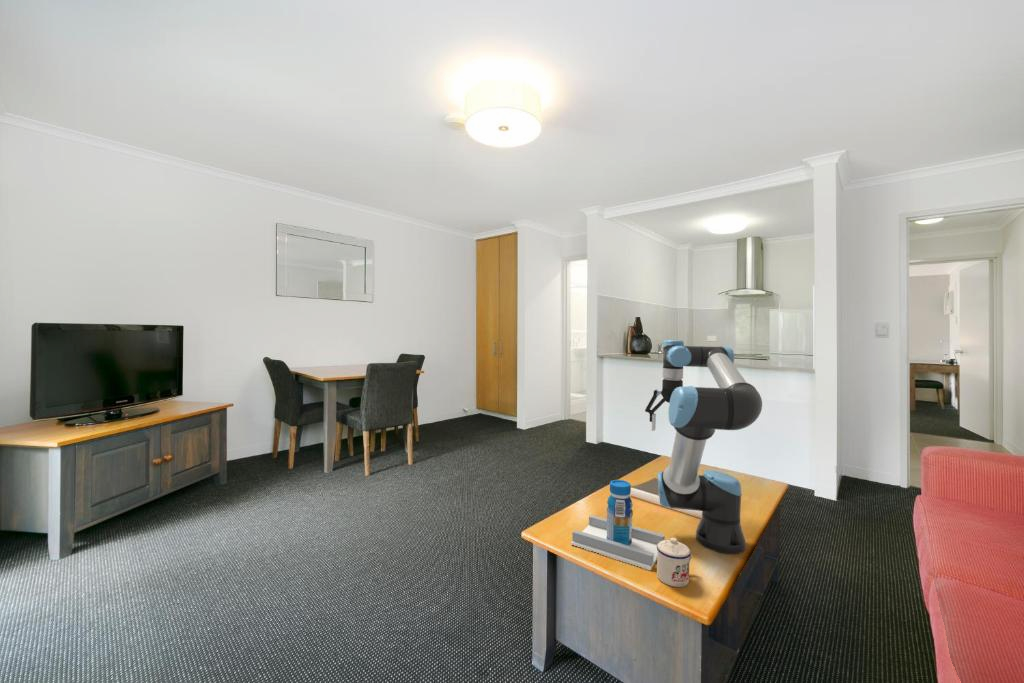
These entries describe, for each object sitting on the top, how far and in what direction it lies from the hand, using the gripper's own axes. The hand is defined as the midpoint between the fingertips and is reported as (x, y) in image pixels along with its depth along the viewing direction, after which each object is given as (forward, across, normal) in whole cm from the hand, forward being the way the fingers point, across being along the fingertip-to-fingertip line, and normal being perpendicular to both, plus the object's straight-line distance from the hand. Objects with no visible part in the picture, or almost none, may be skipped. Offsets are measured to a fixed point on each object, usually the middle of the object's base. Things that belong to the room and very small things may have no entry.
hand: (671, 432), depth 165 cm
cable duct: (+32, +8, +37) cm, 49 cm away
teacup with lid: (+32, -12, +45) cm, 56 cm away
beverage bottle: (+31, +8, +37) cm, 49 cm away
